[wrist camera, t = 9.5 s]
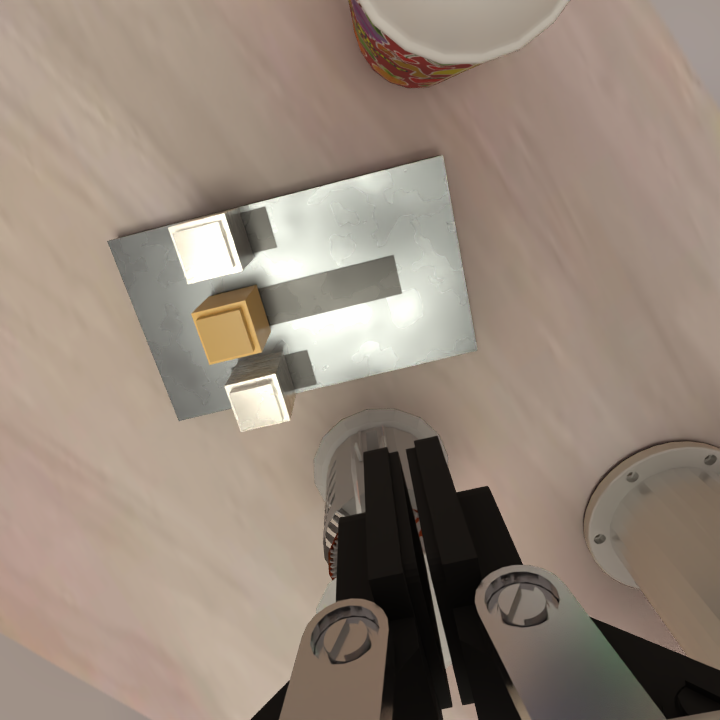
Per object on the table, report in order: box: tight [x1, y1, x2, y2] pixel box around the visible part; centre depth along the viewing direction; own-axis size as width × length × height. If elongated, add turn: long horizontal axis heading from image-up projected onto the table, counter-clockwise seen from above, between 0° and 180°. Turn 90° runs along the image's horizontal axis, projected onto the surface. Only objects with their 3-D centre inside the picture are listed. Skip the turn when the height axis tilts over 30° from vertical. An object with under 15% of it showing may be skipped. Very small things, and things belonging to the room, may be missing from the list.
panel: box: [107, 155, 477, 432], centre depth 32 cm, size 20×12×6 cm, turn 104°
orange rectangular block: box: [191, 285, 271, 365], centre depth 31 cm, size 3×3×5 cm
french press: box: [314, 409, 452, 669], centre depth 27 cm, size 10×12×25 cm
